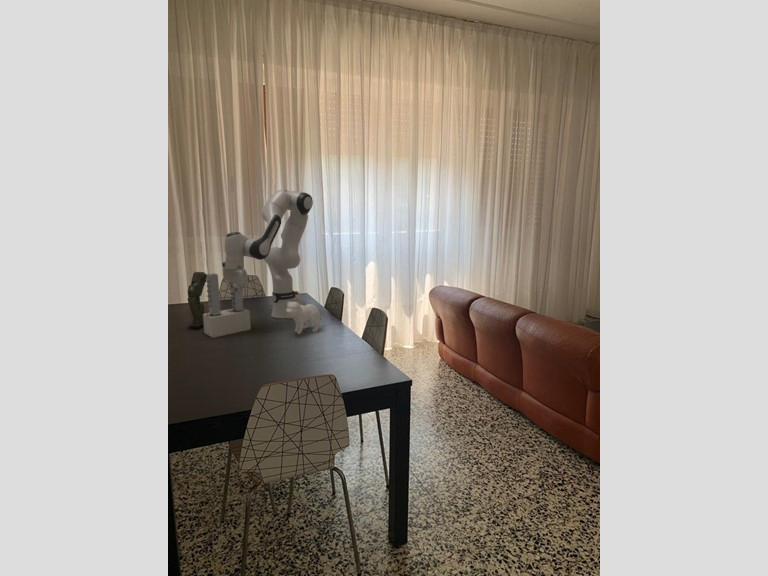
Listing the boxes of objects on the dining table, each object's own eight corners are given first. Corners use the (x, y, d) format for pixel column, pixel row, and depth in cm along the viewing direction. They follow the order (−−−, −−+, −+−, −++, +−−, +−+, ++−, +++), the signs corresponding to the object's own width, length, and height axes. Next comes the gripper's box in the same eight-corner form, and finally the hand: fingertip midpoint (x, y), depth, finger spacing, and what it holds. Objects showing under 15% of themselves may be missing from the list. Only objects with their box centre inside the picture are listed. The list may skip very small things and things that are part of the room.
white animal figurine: (316, 323, 241) (315, 293, 237) (330, 327, 234) (329, 296, 231) (279, 334, 222) (278, 302, 218) (293, 338, 215) (292, 305, 212)
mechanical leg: (194, 330, 223) (198, 271, 224) (182, 329, 225) (186, 270, 226) (210, 329, 237) (214, 273, 238) (198, 328, 238) (202, 272, 239)
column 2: (240, 326, 233) (238, 286, 228) (244, 328, 230) (241, 287, 225) (232, 328, 230) (229, 287, 225) (236, 330, 227) (233, 288, 222)
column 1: (217, 316, 223) (214, 273, 218) (220, 318, 220) (217, 274, 215) (208, 318, 220) (205, 274, 215) (212, 319, 217) (208, 275, 212)
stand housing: (241, 325, 236) (240, 306, 234) (250, 329, 229) (249, 309, 227) (204, 333, 223) (202, 312, 220) (212, 337, 215) (211, 316, 213)
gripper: (250, 266, 218) (251, 294, 220) (232, 261, 232) (233, 287, 235) (238, 268, 213) (239, 295, 216) (220, 262, 228) (221, 289, 230)
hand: (236, 291), depth 226 cm, fingers open, 8 cm apart
